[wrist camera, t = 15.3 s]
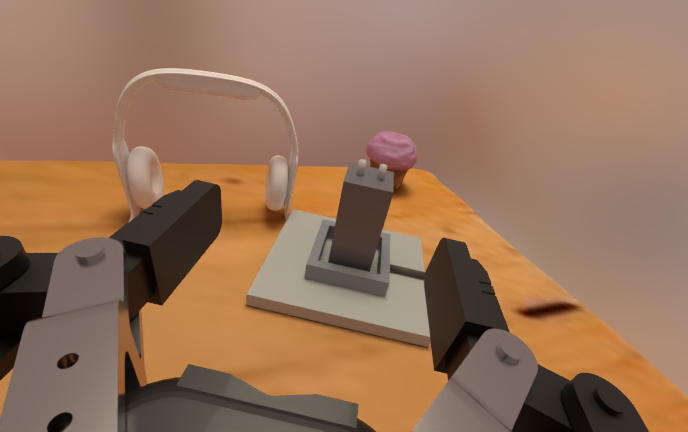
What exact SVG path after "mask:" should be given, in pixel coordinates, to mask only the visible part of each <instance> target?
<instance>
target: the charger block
mask: <svg viewBox="0 0 688 432" xmlns="http://www.w3.org/2000/svg"><path fill="white" fill-rule="evenodd" d="M366 163H367V161H366V160H363V159H361V160H360V161H359V164H355V163H350V164H349V167H348V170H347V173H346V176H345V179H344V183H343V188H342V193H341V198H340V203H339V208H338V213H337V219H336V224H335V229H334V234H333V239H332V244H331V249H330V254H329V260H328V263H333V264H337V265H341V266H346V267H350V268H355V269H359V270H363V271H368V272H370V269H371V266H372V262H373V259H374V256H375V252H376V249H377V246H378V242H379V239H380V236H381V232H382V229H383V226H384V222H385V219H386V216H387V212H388V209H389V206H390V202H391V199H392V196H393V183H394V172H391V171H386V170H387V165H385V164H380V167H379V169H377V168H373V167H368V166H366Z"/></svg>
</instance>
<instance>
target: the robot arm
mask: <svg viewBox="0 0 688 432" xmlns="http://www.w3.org/2000/svg"><path fill="white" fill-rule="evenodd" d="M221 225H222V209H221V190H220V187H219V185H216V184H212V183H208V182H203V181H199V180H195V181H193V182H192V183H191V184H190V185H188V186H187V187H186V188H185V189H184V190H182V191H180V190H177V191H174V192H172V193H169V194H167V195H164V196H162V197H161V198H160V199H158V200H157V201H156V202H154V203H153V204H152V206H149V207H148V208H147V209H145V210H144V211H143V213H140V214H139V215H138V216H136V217H135V218H134V219H132V220H131V221H130V222H128V223H127V224H126V225H125V226H123V227H122V228H121V229H119V230H118V231H117V232H116V233H114V234H113V235H112V236H110V237H109V238H104V237H97V238H90V239H85V240H81V241H78V242H75V243H73V244H71V245H69V246H67V247H66V248H64V249H63V250H61V251H60V252H59V253H26V252H25V250H24V248H23V246H22V244H21V242H20V241H19V240H18V239H16V238H14V237H10V236H0V380H1V379H2V378H3V377H4V376H5V375H6V374H7V373H9V372H10V371H11V370H12V369H13V372H12V376H11V380H10V384H9V388H8V391H7V395H6V399H5V403H4V407H3V411H2V414H1V418H0V432H376V431H375V430H374V429H373V428H371V427H370V426H369V425H367V424H366V423H365V422H363V421H361V420H360V419H358V418H357V415H358V404H356V403H351V402H347V401H343V400H339V399H334V398H330V397H326V396H322V395H317V394H311V395H287V396H270V395H267V394H265V393H263V392H261V391H259V390H258V389H256V388H254V387H252V386H251V385H249V384H247V383H245V382H244V381H242V380H240V379H238V378H237V377H235V376H233V375H231V374H228V373H224V372H220V371H216V370H212V369H207V368H203V367H199V366H195V365H190V364H188V366H187V368H186V369H185V371H184V373H183V374H182V376H181V377H179V378H171V379H165V380H161V381H157V382H153V383H150V384H147V379H146V373H145V364H144V347H143V330H142V315H141V311H140V310H141V308H142V307H143V306H144V305H145V304H146V303H147V302H149V303H154V304H158V305H163V304H164V302H165V301H166V300H167V299H168V297H169V296H170V295H171V294H172V292H173V291H174V290H175V289H176V287H177V286H178V285H179V284H180V282H181V281H182V280H183V279H184V277H185V276H186V275H187V274H188V273H189V271H190V270H191V269H192V268H193V266H194V265H195V264H196V263H197V261H198V260H199V259H200V258H201V256H202V255H203V254H204V253H205V251H206V250H207V249H208V248H209V246H210V245H211V244H212V243H213V241H214V240H215V239H216V238H217V236H218V234H219V232H220V229H221ZM424 290H425V298H426V307H427V315H428V323H429V332H430V340H431V348H432V356H433V365H434V371H438V372H442V373H447V375H448V382H447V384H446V385H445V386H444V388H443V389H442V391H441V392H440V393H439V395H438V396H437V397H436V399H435V400H434V402H433V403H432V404H431V406H430V407H429V408H428V410H427V411H426V412H425V414H424V415H423V417H422V418H421V419H420V421H419V422H418V423H417V425H416V426H415V428H414V429H413V430H412V432H649V431H648V429H647V427H646V426H645V424H644V422H643V420H642V419H641V417H640V415H639V413H638V412H637V410H636V409H635V407H634V405H633V404H632V403H631V402H630V400H629V399H628V398H627V397H626V396H625V395H624V394H623V393H622V392H621V391H620V390H619V389H618V388H616V387H615V386H614V385H612V384H611V383H610V382H608V381H606V380H605V379H603V378H601V377H599V376H597V375H594V374H590V373H580V374H578V375H576V376H575V377H574V378H573V379H572V380H571V381H570V380H568V379H566V378H564V377H562V376H560V375H558V374H556V373H554V372H552V371H550V370H548V369H546V368H544V367H542V366H540V365H539V364H537V361H536V358H535V356H534V354H533V353H532V351H531V350H530V348H529V347H528V346H527V345H526V344H525V343H524V342H523V341H522V340H520V339H519V338H518V337H516V336H515V335H513V334H511V333H510V332H509V329H508V326H507V324H506V321H505V319H504V316H503V313H502V311H501V308H500V305H499V303H498V300H497V297H496V296H495V292H494V289H493V287H492V286H491V281H490V279H489V276H488V273H487V271H486V270H485V269H484V268H483V266H482V265H481V264H480V263H479V262H478V260H475V259H471V257H470V254H469V251H468V248H467V245H466V243H464V242H460V241H456V240H452V239H447V238H442V239H441V240H440V242H439V244H438V246H437V248H436V250H435V253H434V255H433V257H432V259H431V261H430V264H429V266H428V268H427V270H426V274H425V278H424Z"/></svg>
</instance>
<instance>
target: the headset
mask: <svg viewBox="0 0 688 432" xmlns="http://www.w3.org/2000/svg"><path fill="white" fill-rule="evenodd" d="M152 81H155V82H156V83H157V84H158V85H159V86H161V87H163V88H165V89H168V90H172V91H178V92H189V93H199V94H209V95H217V96H224V97H229V98H235V99H241V100H249V101H250V100H256V99H258V98H259V97H260V96H261V94H262V95H264V96H265V97H267V98H268V99H270V100H271V101H272V102H273V103H274V104H275V105H276V107H277V108H278V109H279V111H280V112H281V114H282V116H283V118H284V120H285V123H286V126H287V129H288V133H289V137H290V143H291V150H292V151H291V156H290V161H289V167H288V166H287V161H286V160H285V158H284V157H282V156H279V155H277V156H274V157H272V158H271V160H270V162H269V166H268V172H267V180H266V205H267V207H268V208H269V209H270V210H272V211H278V210H280V209H281V208H282V207H283V204H284V213H285V221H287V219H288V215H289V210H290V204H291V199H292V193H293V188H294V182H295V177H296V171H297V163H298V156H299V150H298V144H297V137H296V133H295V128H294V125H293V121H292V118H291V115H290V113H289V111H288V109H287V107H286V105H285V104H284V102H283V101H282V99H281V98H280V97H279V96H278V95H277V94H276V93H275V92H274V91H272V90H271V89H270V88H268V87H266V86H265V85H262V84H260V83H258V82H255V81H252V80H249V79H246V78H242V77H238V76H233V75H227V74H221V73H215V72H207V71H199V70H190V69H176V68H166V69H155V70H150V71H146V72H144V73H141V74H139V75H137V76H136V77H134V78H133V79H132V80H131V81H130V82H129V83H128V84H127V85H126V87H125V88H124V90H123V91H122V93H121V96H120V98H119V101H118V104H117V108H116V112H115V118H114V127H113V140H112V141H113V142H112V151H113V156H114V160H115V163H116V166H117V170H118V173H119V176H120V179H121V182H122V185H123V188H124V191H125V194H126V197H127V200H128V204H129V207H130V213H131V217H130V220H129V222H130V221H131V220H132V219H134V218H135V217H136V216H138V215H139V213H140V209H141V208H143V209H147V208H148V207H149V206H152V204H153V203H154V202H156V201H157V200H158V199H160V198H161V197H162V196H163V175H162V170H161V166H160V162H159V160H158V157H157V155H156V154H155V153H154V151H153V150H151V149H150V148H147V147H136V148H135V149H133V150H132V151H131V153H130V155H129V152H128V148H127V145H126V142H125V140H124V127H125V120H126V114H127V111H128V107H129V104H130V102H131V100H132V98H133V96H134V94H135V93H136V91H137V90H138V89H139V88H140V87H141V86H143V85H144V84H146V83H149V82H152Z"/></svg>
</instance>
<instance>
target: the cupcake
mask: <svg viewBox="0 0 688 432" xmlns="http://www.w3.org/2000/svg"><path fill="white" fill-rule="evenodd" d="M366 153H367V155H368V157H369V158H370V162H371V166H370V167H373V168H377V169H379V167H380V164H385V165H387V170H386V171H391V172H394V183H393V190H397V189H399V188H400V186H401V184H402V181H403V178H404V176H405V174H406V173H407V171H408V169H410V168H412V167H413V166H414V164H415V163H416V161H417V148H416V146H415V144H414V143H413V142H412V141H411V139H410V138H409V137H407V136H405V135H402V134H398V133H395V132H390V131H385V132H380V133H379V134H378V135H376V136H375V137H374V138H373V139H372V140H371V141H370V143H369V144H368V146H367V149H366Z"/></svg>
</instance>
